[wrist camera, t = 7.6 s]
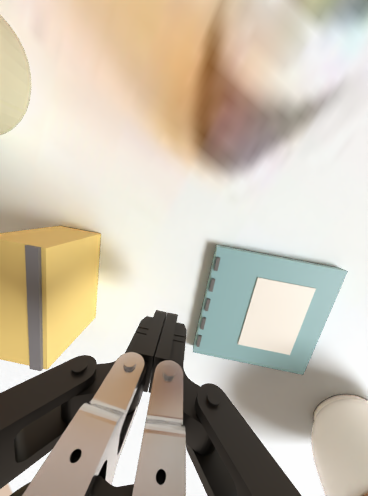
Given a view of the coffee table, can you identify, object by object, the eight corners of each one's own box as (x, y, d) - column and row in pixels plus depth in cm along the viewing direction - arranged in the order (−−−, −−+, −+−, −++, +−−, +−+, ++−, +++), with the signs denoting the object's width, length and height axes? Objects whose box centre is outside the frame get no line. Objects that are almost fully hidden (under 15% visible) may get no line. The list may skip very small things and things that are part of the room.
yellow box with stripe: (59, 225, 16) (-23, 236, 10) (100, 233, 16) (42, 248, 10) (58, 309, 18) (-10, 360, 12) (95, 317, 18) (44, 371, 12)
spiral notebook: (216, 244, 15) (217, 247, 14) (339, 268, 15) (349, 272, 14) (193, 345, 18) (193, 353, 17) (298, 367, 18) (304, 376, 17)
